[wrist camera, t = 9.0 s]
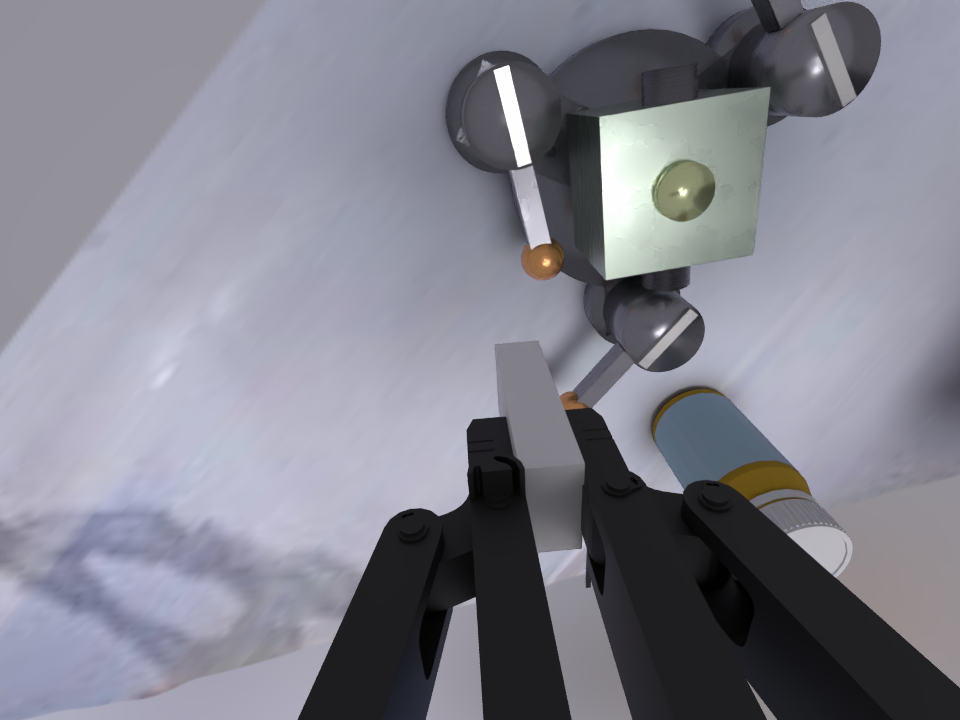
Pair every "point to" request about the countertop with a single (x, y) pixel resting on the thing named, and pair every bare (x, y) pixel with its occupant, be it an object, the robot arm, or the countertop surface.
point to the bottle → (746, 470)
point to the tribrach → (645, 157)
